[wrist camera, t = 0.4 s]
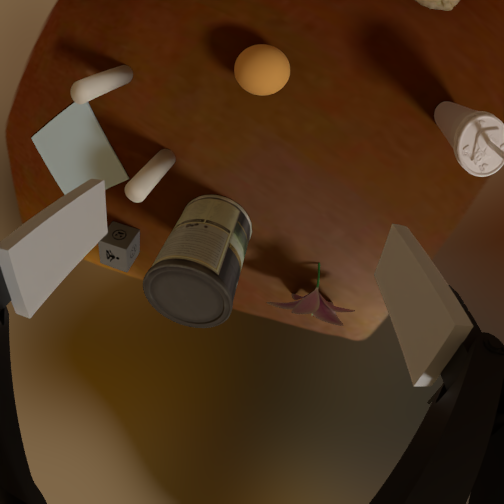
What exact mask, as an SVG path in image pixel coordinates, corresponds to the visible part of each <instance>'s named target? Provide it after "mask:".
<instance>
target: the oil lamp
mask: <svg viewBox="0 0 504 504" xmlns="http://www.w3.org/2000/svg"><path fill="white" fill-rule="evenodd" d="M415 1H417V2H418V3H419V4H421V5H423V6H425V7H428V8H430V9H440V10H445V11H449V10H452V9H453V7H454V6H455V5H457V4H458V2H459V1H460V0H415Z"/></svg>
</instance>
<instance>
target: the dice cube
mask: <svg viewBox="0 0 504 504" xmlns="http://www.w3.org/2000/svg"><path fill="white" fill-rule="evenodd" d="M98 245H99V254H100V262H101V263H103V264H105V265H108V266H111V267H113V268H116V269H119V270H122V271H125V272H128V270H129V269H130V267H131V265H132V264H133V262H134V260H135V259H136V257H137V255H138V254H139V246H140V230H139V229H136V228H133V227H130V226H126V225H123V224H120V223H117V222H114V221H113V222H112V223H111V224H110V225H109V227H108V233H107V234H106V235H105V236H104V237H103V238H102V239H101V240H100V241H99V242H98Z"/></svg>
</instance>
